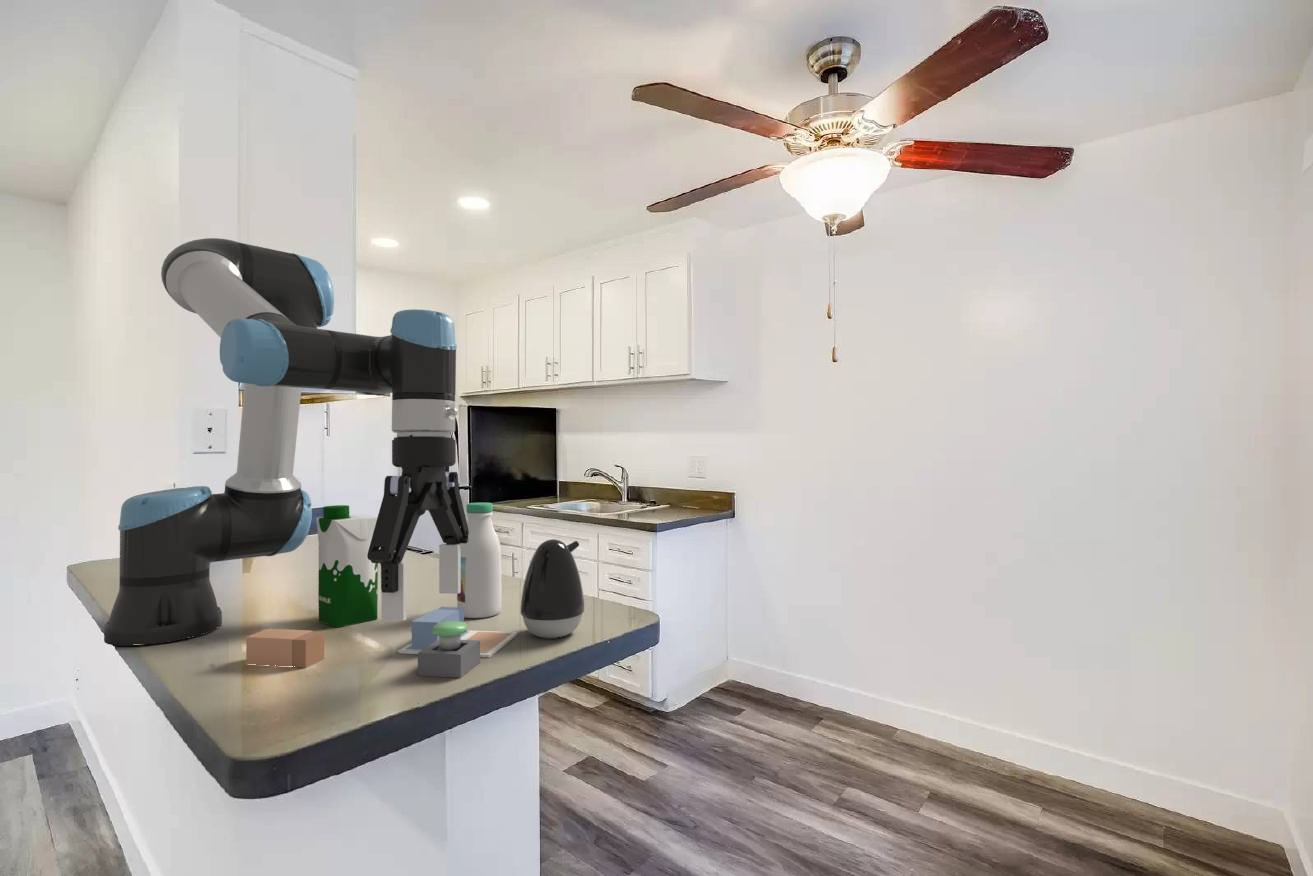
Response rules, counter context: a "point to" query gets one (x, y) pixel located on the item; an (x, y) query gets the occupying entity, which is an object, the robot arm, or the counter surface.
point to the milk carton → (346, 568)
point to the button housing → (449, 659)
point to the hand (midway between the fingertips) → (424, 605)
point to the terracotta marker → (285, 648)
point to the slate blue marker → (425, 623)
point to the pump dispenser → (552, 591)
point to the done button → (449, 634)
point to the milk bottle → (480, 565)
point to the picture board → (488, 640)
